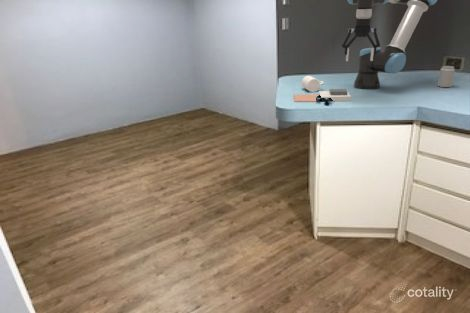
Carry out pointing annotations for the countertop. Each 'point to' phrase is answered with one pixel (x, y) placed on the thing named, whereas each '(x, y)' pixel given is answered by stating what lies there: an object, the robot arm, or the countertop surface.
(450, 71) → the can
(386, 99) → the countertop surface
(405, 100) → the countertop surface
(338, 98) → the deck
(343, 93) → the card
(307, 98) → the mat
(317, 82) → the mug
